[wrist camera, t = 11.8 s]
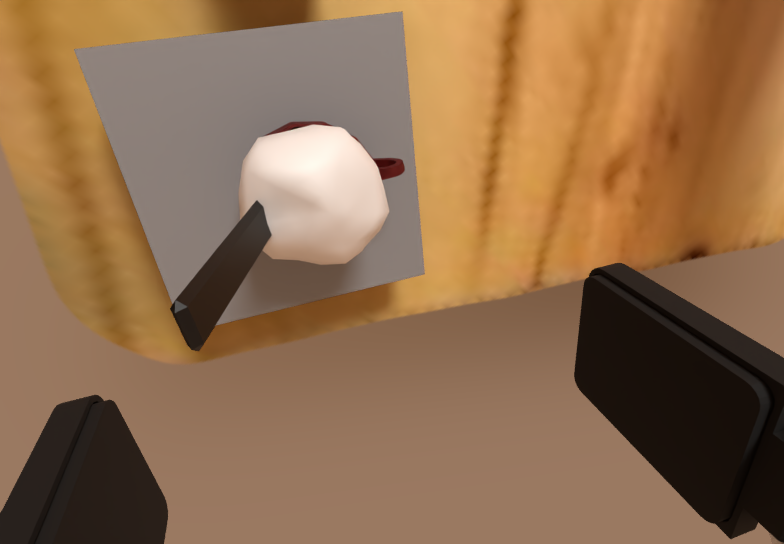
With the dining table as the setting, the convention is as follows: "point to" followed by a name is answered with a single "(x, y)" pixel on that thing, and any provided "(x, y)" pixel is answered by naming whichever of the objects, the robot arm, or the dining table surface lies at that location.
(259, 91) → the stand
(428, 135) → the dining table surface
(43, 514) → the robot arm
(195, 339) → the cocoa
